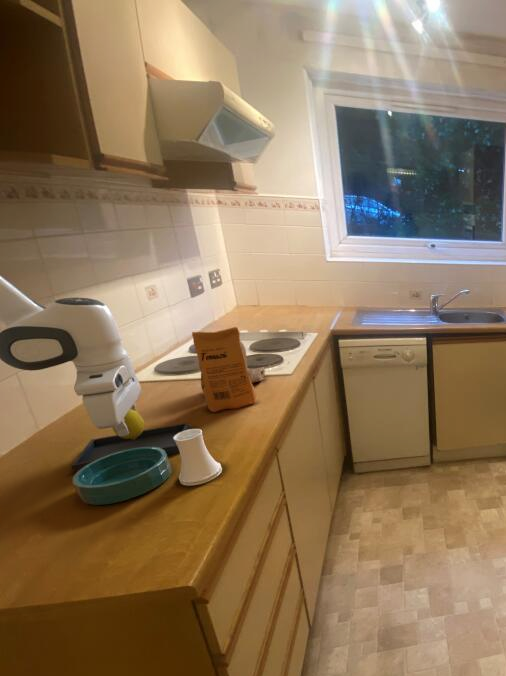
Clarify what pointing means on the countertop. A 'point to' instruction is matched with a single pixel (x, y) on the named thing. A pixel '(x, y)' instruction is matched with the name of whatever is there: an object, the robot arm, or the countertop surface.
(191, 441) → the vase
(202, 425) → the countertop surface
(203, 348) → the coffee package
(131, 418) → the lemon
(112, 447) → the tray
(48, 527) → the countertop surface
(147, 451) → the bowl
